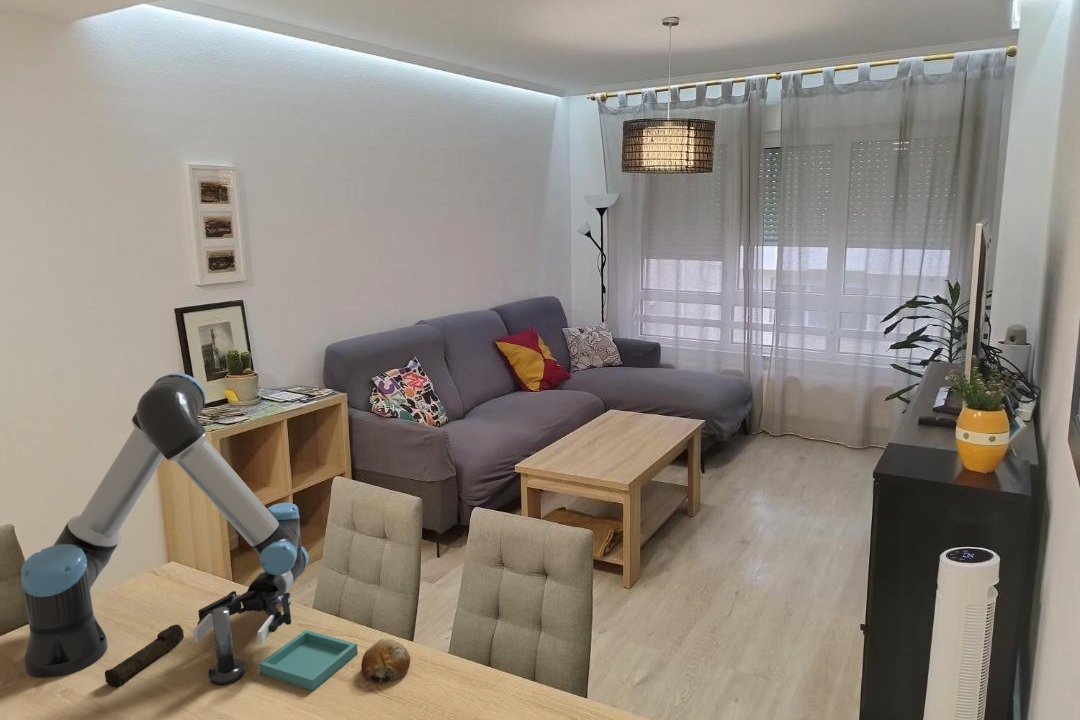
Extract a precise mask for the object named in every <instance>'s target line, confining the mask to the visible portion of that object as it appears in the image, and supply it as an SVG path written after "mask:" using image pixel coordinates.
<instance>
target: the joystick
mask: <svg viewBox="0 0 1080 720" xmlns="http://www.w3.org/2000/svg"><path fill="white" fill-rule="evenodd" d="M212 618H213V626H212V627H213V634H214V643H215V644H214V645H215V651H216V653H215V654H216V663H215V664H214V665H212V666H211V667H210V668H209V670H208V682H209V681H210V682H209V683H210V684H211V685H213V686H217V687H218V686H220V687H221V686H222V687H224V686H229V685H231V684H234V683H237V682H239V681H240V680H241V679H243V678H244V677H245V675H246V664H245V662H244V661H243V660H241V659H239V658H235V655H234V645H233V633H232V626H231V625H232V624H231V617H230V614H229V608H227V607H220V608H217V609H215V610H213V611H212Z"/></svg>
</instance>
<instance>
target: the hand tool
mask: <svg viewBox="0 0 1080 720" xmlns="http://www.w3.org/2000/svg"><path fill="white" fill-rule="evenodd" d="M184 638H185V634H184V630H183V628H182V626H181V625H180V624H173V625H170V626H168V628H165V629H164V630H161V631H160V632H159V633H158V634H157V637H156V638H155V639H154V640H153V641H152V642H151V643H149V644H148V645H146V646H144V647H142V648H141V649H139V650H138V651H136V652H135V653H134V654H132V655H131V656H130V657H127V658H125V660H123V661H121V662H119V663H118V664H117V665H115V666H114V667H112V668H110V669H106V670H105V671H104V679H105V683H107V686H110V687H112V688H113V687H114V688H120V687H121V685H122V684H125V683H126V682H127V680H128V679H129V678H130V677H132V676H134V675H135V674H137V672H139V671H140V670H142V669H143V668H145V667H147V665H149V664H151V663H152V662H153V661H154V660H156V659H157V658H159V657H160V656H161V655H163V654H168V653H170V652H172V650H173V651H174V649H176V647H177V646H178V645H179V644H180V643H181V642H182V641H183V640H184Z"/></svg>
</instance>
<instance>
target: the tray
mask: <svg viewBox="0 0 1080 720" xmlns="http://www.w3.org/2000/svg"><path fill="white" fill-rule="evenodd" d="M358 654H359V652H358V644H357V643H355V642H351V641H347V640H344V639H341V638H336V637H333V636H330V635H327V634H322V633H319V632H315V631H312V630H308V629H305V630H304V631H302V632H301V633H299V634H298V635H296V636H295V637H294V638H293V639H291V640H290V641H288V642H287V643H286V644H284V645H283V646H282V647H280V648H279V649H277V650H276V651H275V652H273V653H271V654H270V655H269V656H268V657H266V658H265V659H264V660H262V661H261V662H259V664H258V665H259V666H258V667H259V674H260V675H262V676H265V677H269V678H271V679H274V680H278V681H279V682H280V681H281V682H284V683H287V684H289V685H293V686H296V687H300V688H303V689H306V690H309V691H312V692H314V691H315V690H316V689H318V688H319V687H320V686H322V685H323V684H324V683H325V682H326V681H328V680H329V679H330V678H331V677H333V676H334V674H336V673H337V672H338V671H340V670H341V669H342V668H343V667H344V666H345V665H347V664H348V663H349V662H350V661H351V660H353V659H354V658H356V656H358Z"/></svg>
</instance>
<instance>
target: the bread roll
mask: <svg viewBox="0 0 1080 720" xmlns="http://www.w3.org/2000/svg"><path fill="white" fill-rule="evenodd" d="M410 665H411V656H410V653H409V651H408V649H407V648H406V647H405V646H404V644H401V642H399V641H397V640H394V639H390V638H385V639H383V638H380V639H379V640H378V641H376V642H375V643H374V644H373V645H371V646H370V647H369V648H368V649H366V650H365V652H364V654H363V655H362V660H361V665H360V666H361V669H360V670H361V674H362V677H364V678H365V679H366V681H368V682H369V681H370V682H372V683H375V684H376V683H377V684H387V683H391V682H394V681H396V680H398V679H400V678H403V677H404V676H405V675H406V674H407V673H408V671H409V669H410Z"/></svg>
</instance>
